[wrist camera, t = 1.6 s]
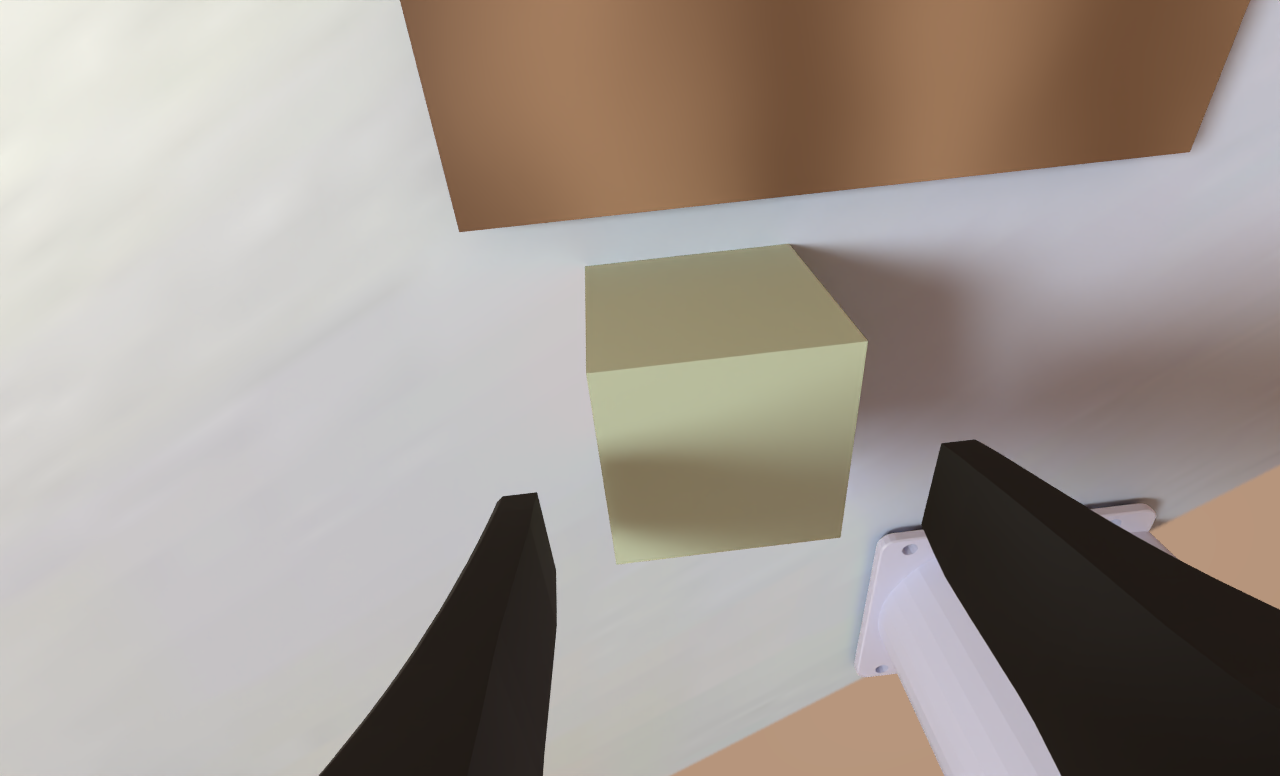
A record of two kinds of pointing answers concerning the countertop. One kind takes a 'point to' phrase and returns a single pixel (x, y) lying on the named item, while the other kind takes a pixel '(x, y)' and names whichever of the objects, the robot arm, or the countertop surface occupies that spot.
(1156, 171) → the countertop surface
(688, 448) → the sage block
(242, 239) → the countertop surface
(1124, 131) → the walnut board
